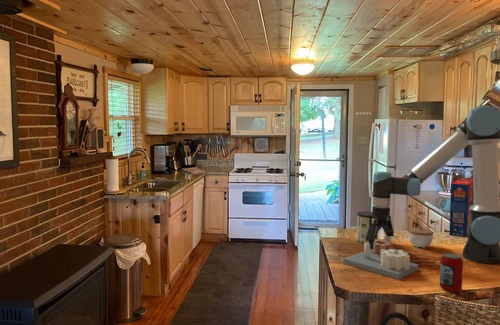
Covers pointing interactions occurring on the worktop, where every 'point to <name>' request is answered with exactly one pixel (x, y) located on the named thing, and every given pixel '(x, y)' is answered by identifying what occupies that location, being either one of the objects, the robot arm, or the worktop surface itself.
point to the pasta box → (460, 207)
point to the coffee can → (363, 225)
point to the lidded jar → (420, 237)
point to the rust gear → (382, 245)
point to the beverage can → (451, 272)
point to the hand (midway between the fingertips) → (379, 253)
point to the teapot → (445, 205)
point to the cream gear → (394, 259)
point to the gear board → (377, 264)
